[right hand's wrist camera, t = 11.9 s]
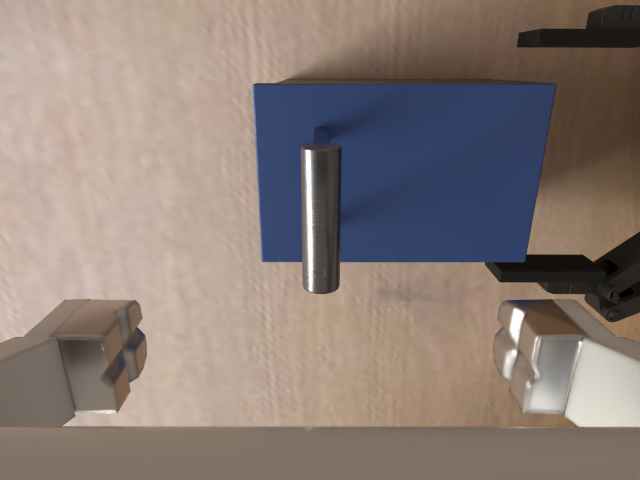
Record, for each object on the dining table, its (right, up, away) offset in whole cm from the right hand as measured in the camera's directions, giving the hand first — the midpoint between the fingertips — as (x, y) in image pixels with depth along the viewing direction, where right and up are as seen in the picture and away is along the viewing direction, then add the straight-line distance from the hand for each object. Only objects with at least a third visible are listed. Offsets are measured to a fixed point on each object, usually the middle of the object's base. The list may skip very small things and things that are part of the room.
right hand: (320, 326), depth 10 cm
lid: (+4, +6, +14) cm, 16 cm away
